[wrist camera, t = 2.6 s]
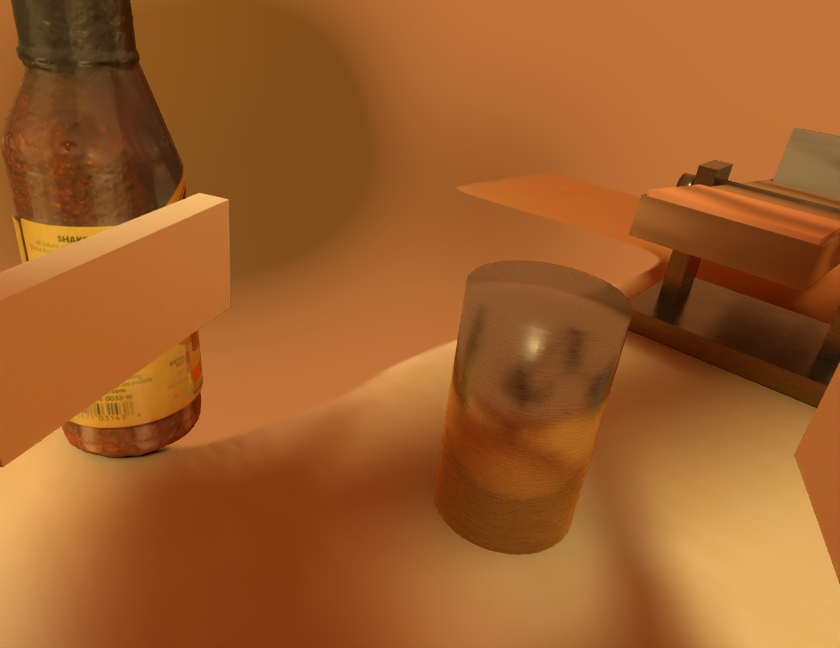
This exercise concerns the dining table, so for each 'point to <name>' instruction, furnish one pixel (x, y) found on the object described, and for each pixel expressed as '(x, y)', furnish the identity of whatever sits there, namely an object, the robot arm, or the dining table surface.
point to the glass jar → (526, 401)
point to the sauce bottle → (96, 189)
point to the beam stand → (737, 323)
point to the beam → (758, 217)
